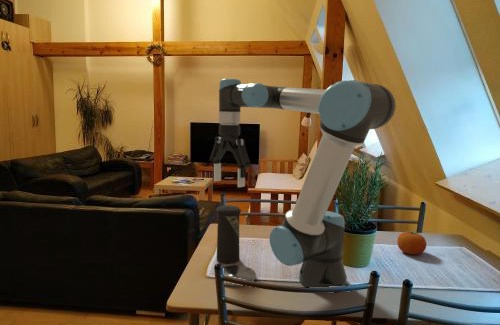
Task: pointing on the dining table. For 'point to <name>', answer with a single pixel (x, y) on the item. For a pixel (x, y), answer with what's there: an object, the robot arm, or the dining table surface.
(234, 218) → the container
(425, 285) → the dining table surface
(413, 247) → the fruit
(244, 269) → the flange plate
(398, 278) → the dining table surface
